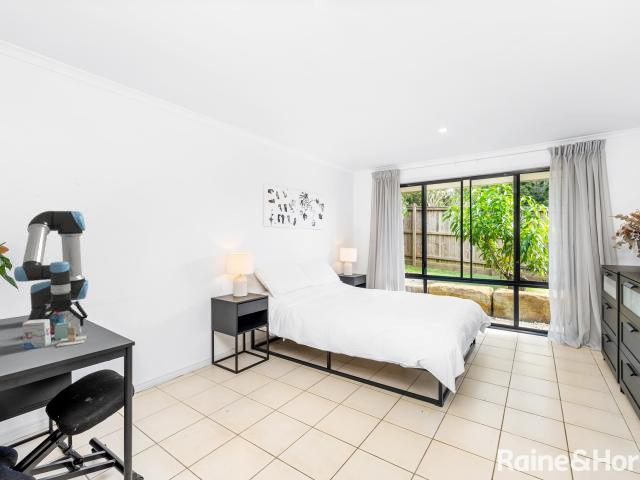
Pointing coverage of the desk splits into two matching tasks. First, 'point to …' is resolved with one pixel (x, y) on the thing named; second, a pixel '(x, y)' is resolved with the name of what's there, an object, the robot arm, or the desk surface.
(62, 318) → the mug
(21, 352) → the desk surface
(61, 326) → the mint green block
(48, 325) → the ink box
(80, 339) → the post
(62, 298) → the robot arm
